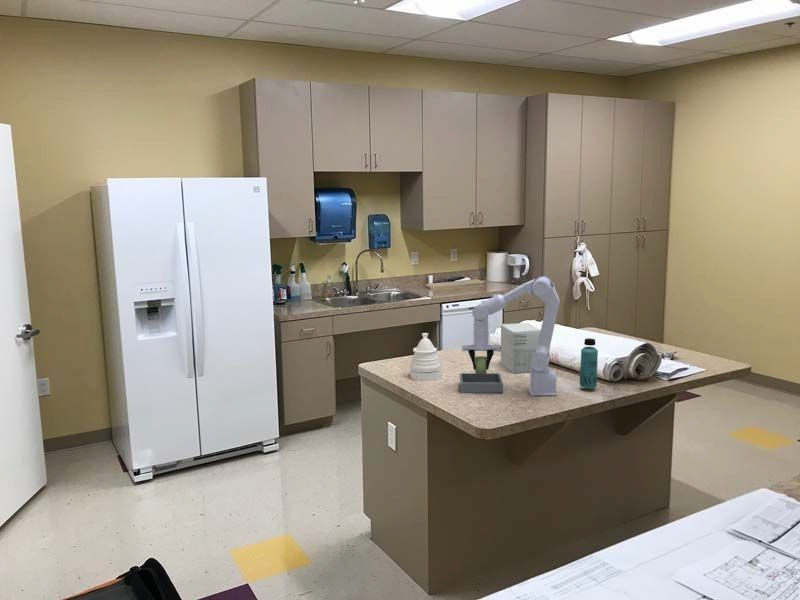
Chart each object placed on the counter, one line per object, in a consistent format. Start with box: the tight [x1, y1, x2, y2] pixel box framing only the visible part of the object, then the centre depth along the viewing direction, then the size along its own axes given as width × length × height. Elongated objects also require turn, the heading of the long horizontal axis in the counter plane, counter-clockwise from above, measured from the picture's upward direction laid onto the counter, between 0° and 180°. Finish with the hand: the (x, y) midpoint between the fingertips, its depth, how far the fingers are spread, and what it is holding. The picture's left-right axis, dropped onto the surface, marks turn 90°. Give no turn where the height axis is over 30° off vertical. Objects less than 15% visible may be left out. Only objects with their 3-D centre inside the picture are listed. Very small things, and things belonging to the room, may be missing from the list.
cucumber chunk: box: [474, 355, 488, 374], centre depth 254 cm, size 4×4×6 cm
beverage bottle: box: [579, 337, 599, 389], centre depth 249 cm, size 6×7×20 cm
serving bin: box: [459, 372, 504, 395], centre depth 255 cm, size 16×14×4 cm
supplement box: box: [500, 322, 541, 374], centre depth 282 cm, size 17×13×18 cm
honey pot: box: [409, 332, 442, 382], centre depth 271 cm, size 13×13×18 cm
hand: (480, 368), depth 254 cm, fingers closed on cucumber chunk, 4 cm apart
